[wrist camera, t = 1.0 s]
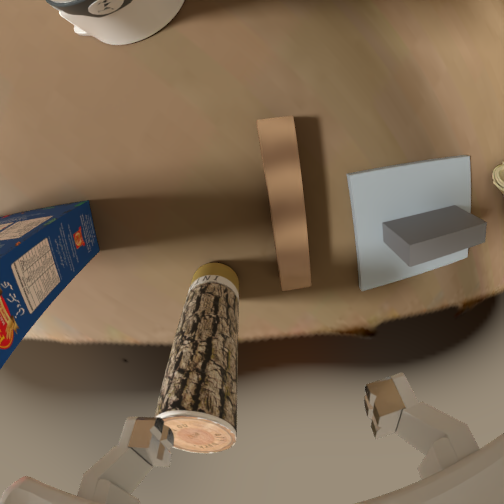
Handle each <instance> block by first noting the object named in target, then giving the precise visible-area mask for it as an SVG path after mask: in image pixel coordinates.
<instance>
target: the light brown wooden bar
mask: <svg viewBox="0 0 504 504" xmlns="http://www.w3.org/2000/svg"><path fill="white" fill-rule="evenodd" d="M256 123H257V129H258V135H259V141H260V148H261V154H262V160H263V167H264V173H265V180H266V186H267V193H268V200H269V206H270V213H271V220H272V227H273V234H274V241H275V249H276V256H277V263H278V271H279V278H280V283H281V287H282V291H287V290H293V289H299V288H305V287H311V272H310V258H309V246H308V234H307V224H306V213H305V204H304V195H303V186H302V177H301V169H300V161H299V153H298V146H297V139H296V132H295V125H294V118H293V116H285V117H276V118H268V119H261V120H257V121H256Z"/></svg>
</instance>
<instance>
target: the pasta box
mask: <svg viewBox="0 0 504 504" xmlns="http://www.w3.org/2000/svg"><path fill="white" fill-rule="evenodd" d="M99 251H100V250H99V246H98V242H97V238H96V233H95V229H94V224H93V220H92V215H91V210H90V204H89V200H87V201H81V202H75V203H69V204H63V205H57V206H51V207H46V208H41V209H36V210H31V211H26V212H21V213H16V214H12V215H7V216H3V217H0V369H1V368H2V366H3V364H4V363H5V362H6V360H7V359H8V358H9V356H10V355H11V353H12V352H13V351H14V349H15V348H16V347H17V345H18V344H19V343H20V341H21V340H22V339H23V337H24V336H25V335H26V333H27V332H28V331H29V330H30V328H31V327H32V326H33V325H34V323H35V322H36V321H37V320H38V318H39V317H40V316H41V315H42V314H43V312H44V311H45V310H46V309H47V308H48V306H49V305H50V304H51V303H52V302H53V301H54V299H55V298H56V297H57V296H58V295H59V294H60V293H61V292H62V290H63V289H64V288H65V287H66V286H67V285H68V284H69V283H70V282H71V280H72V279H73V278H74V277H75V276H76V275H77V274H78V273H79V272H80V271H81V270H82V269H83V268H84V267H85V266H86V264H87V263H88V262H89V261H90V260H91V259H92V258H93V257H94V256H95V255H96V254H97V253H98V252H99Z"/></svg>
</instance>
